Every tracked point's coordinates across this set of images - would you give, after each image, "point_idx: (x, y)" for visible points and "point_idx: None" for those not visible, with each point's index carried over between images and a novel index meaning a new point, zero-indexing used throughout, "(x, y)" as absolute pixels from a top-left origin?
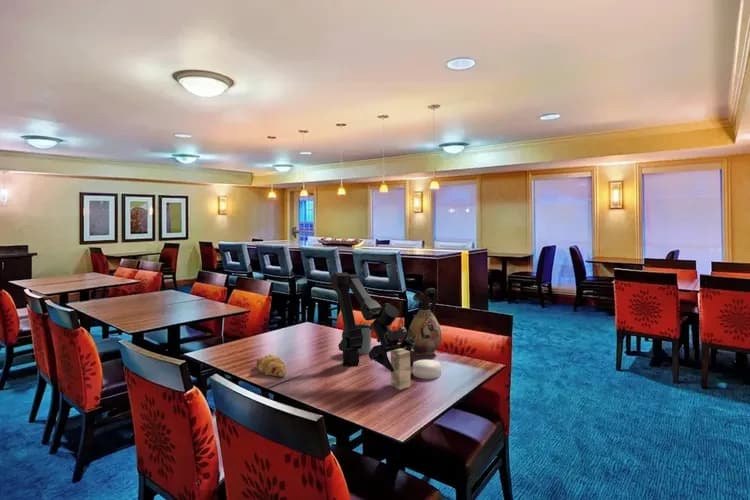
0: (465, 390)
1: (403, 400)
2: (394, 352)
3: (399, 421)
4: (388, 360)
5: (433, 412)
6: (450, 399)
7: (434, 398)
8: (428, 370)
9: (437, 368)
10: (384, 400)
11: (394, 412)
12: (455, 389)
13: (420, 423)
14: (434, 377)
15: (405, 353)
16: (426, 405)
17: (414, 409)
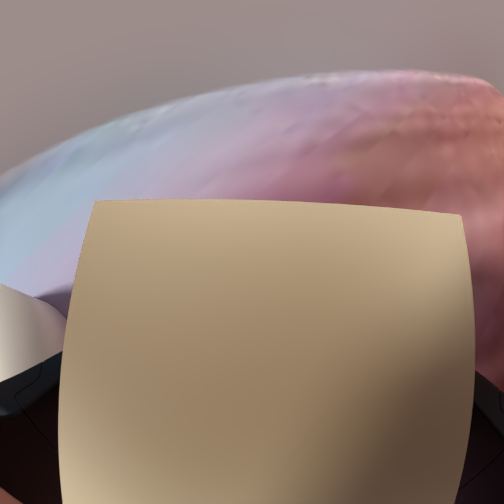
0: (105, 127)
1: (402, 205)
2: (466, 436)
3: (480, 116)
4: (494, 408)
5: (358, 78)
6: (220, 98)
7: (262, 133)
8: (36, 314)
9: (2, 285)
10: (473, 268)
11: (478, 158)
12: (114, 150)
13: (431, 75)
14: (47, 303)
15: (256, 212)
16: (344, 114)
17: (406, 124)
